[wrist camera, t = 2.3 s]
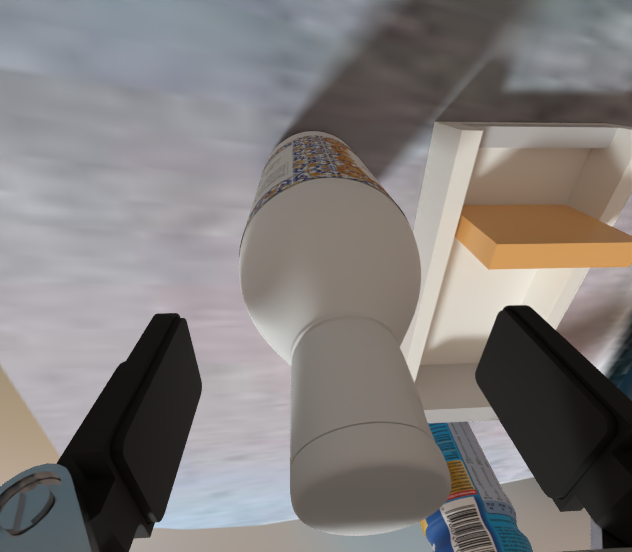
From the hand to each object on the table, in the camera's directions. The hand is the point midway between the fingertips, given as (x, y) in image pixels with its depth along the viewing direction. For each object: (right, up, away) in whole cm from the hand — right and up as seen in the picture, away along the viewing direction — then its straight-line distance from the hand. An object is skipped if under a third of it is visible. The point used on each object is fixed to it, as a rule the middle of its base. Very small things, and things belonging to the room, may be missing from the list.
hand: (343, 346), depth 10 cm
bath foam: (-1, +9, +13) cm, 16 cm away
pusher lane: (+13, +2, +18) cm, 22 cm away
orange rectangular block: (+13, +7, +13) cm, 20 cm away
